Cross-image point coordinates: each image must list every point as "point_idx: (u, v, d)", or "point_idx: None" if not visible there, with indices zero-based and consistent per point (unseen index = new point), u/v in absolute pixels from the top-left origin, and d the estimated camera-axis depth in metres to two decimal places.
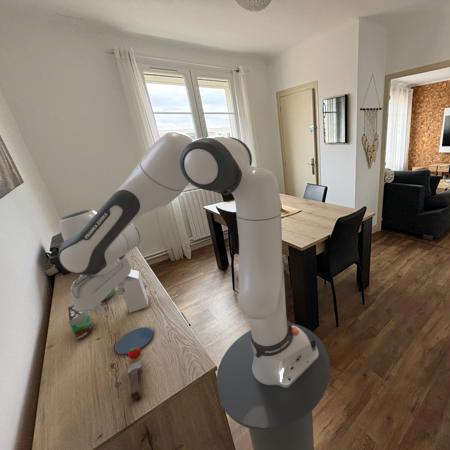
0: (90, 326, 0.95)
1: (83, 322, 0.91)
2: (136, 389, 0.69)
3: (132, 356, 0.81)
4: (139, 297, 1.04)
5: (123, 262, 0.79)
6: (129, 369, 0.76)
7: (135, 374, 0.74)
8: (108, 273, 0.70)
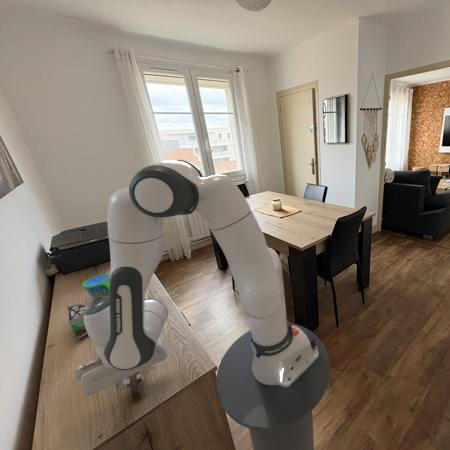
0: None
1: (83, 322, 0.91)
2: (136, 389, 0.69)
3: None
4: None
5: (154, 350, 0.71)
6: None
7: (135, 374, 0.74)
8: None
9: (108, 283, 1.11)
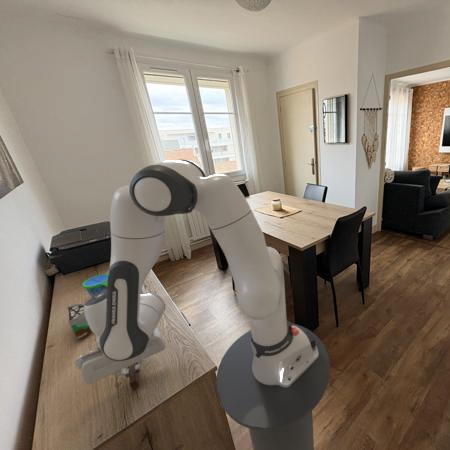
0: None
1: (83, 322, 0.91)
2: (135, 379, 0.71)
3: None
4: None
5: (152, 341, 0.73)
6: None
7: (134, 365, 0.76)
8: None
9: None
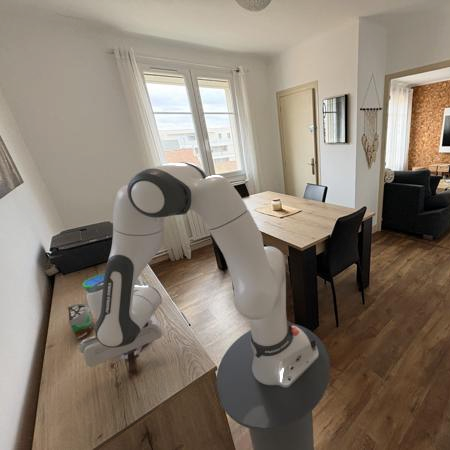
0: (90, 326, 0.95)
1: (83, 322, 0.91)
2: (134, 366, 0.76)
3: None
4: None
5: (150, 328, 0.78)
6: None
7: (132, 350, 0.80)
8: None
9: None
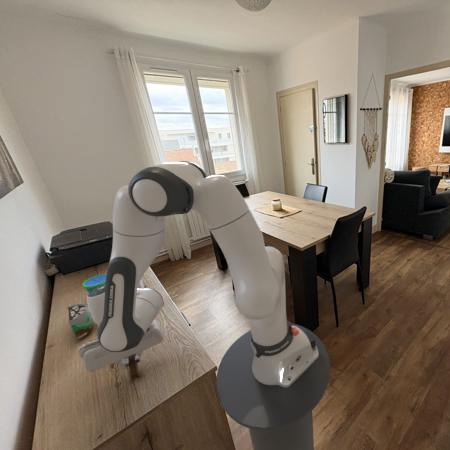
0: (90, 326, 0.95)
1: (83, 322, 0.91)
2: (135, 371, 0.74)
3: None
4: None
5: (151, 333, 0.76)
6: None
7: (132, 355, 0.78)
8: None
9: None
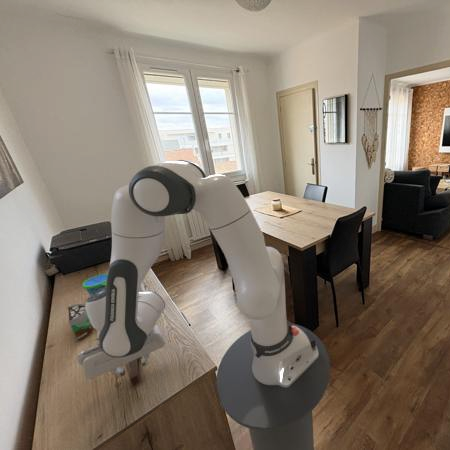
0: (90, 326, 0.95)
1: (83, 322, 0.91)
2: (135, 374, 0.73)
3: None
4: None
5: (152, 338, 0.75)
6: None
7: (134, 361, 0.78)
8: None
9: None
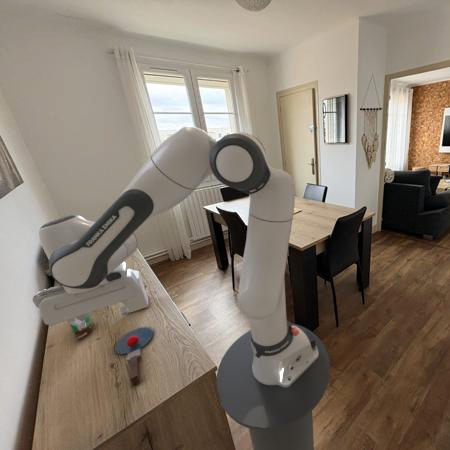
0: (90, 326, 0.95)
1: None
2: (135, 374, 0.73)
3: None
4: (139, 297, 1.04)
5: (125, 283, 0.65)
6: (129, 356, 0.80)
7: (134, 361, 0.78)
8: (82, 294, 0.59)
9: None
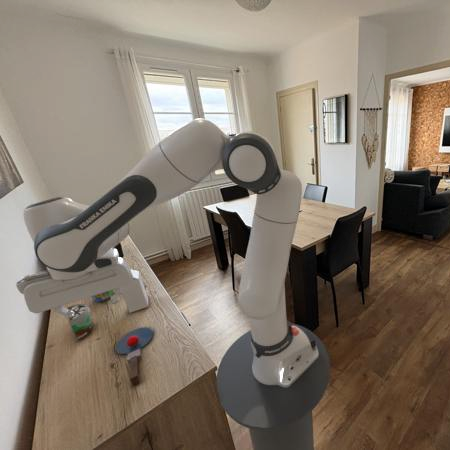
0: (90, 326, 0.95)
1: (83, 322, 0.91)
2: (135, 374, 0.73)
3: None
4: (139, 297, 1.04)
5: (115, 270, 0.62)
6: (129, 356, 0.80)
7: (134, 361, 0.78)
8: (69, 280, 0.56)
9: None
